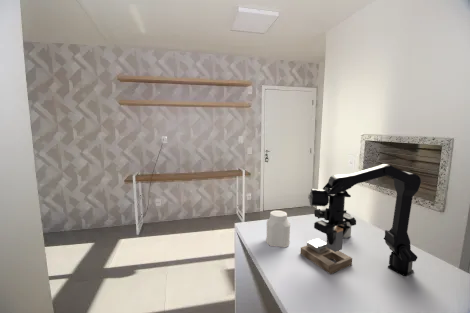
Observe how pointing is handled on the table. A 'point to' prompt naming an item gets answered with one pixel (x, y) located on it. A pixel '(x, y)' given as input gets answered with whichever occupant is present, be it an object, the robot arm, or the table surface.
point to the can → (348, 229)
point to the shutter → (317, 245)
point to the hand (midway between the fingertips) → (334, 243)
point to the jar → (278, 229)
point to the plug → (336, 240)
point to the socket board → (327, 259)
